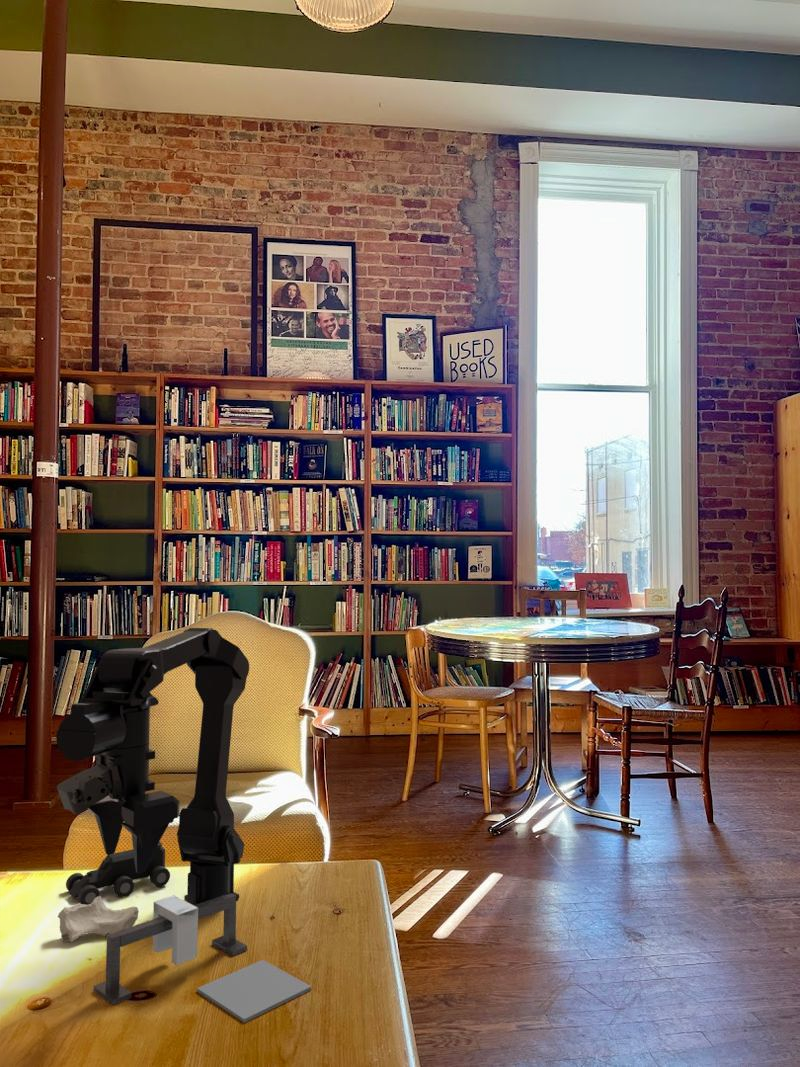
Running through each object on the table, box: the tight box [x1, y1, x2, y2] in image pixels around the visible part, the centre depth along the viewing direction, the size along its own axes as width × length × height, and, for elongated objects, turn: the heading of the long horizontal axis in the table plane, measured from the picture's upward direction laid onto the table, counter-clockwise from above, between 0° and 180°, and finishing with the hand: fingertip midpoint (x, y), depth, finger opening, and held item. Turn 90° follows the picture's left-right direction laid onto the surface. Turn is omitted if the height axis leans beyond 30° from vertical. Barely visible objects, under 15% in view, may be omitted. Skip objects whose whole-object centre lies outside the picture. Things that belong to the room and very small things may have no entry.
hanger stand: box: [93, 893, 248, 1006], centre depth 101 cm, size 19×5×7 cm, turn 137°
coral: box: [57, 895, 140, 943], centre depth 111 cm, size 6×10×4 cm, turn 124°
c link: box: [152, 895, 199, 966], centre depth 101 cm, size 3×6×6 cm, turn 47°
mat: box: [196, 959, 312, 1024], centre depth 95 cm, size 10×10×1 cm
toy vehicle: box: [65, 841, 171, 905], centre depth 128 cm, size 8×15×9 cm, turn 129°
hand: (125, 862), depth 102 cm, fingers open, 9 cm apart
